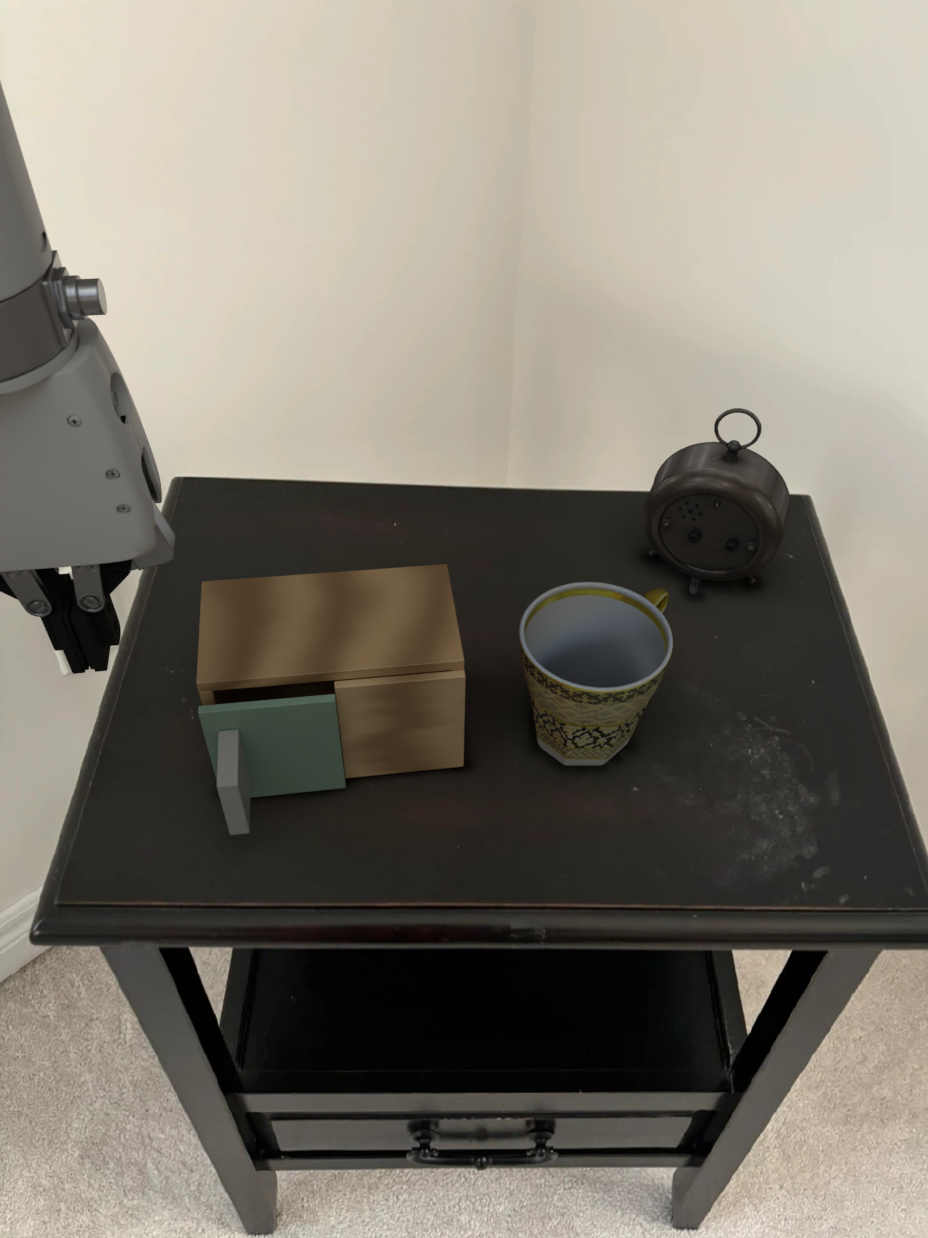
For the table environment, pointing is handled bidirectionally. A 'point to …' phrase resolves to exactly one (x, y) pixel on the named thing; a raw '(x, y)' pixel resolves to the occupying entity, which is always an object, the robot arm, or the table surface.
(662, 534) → the alarm clock
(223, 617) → the cabinet
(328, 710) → the sliding door
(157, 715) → the table surface
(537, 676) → the ceramic cup
